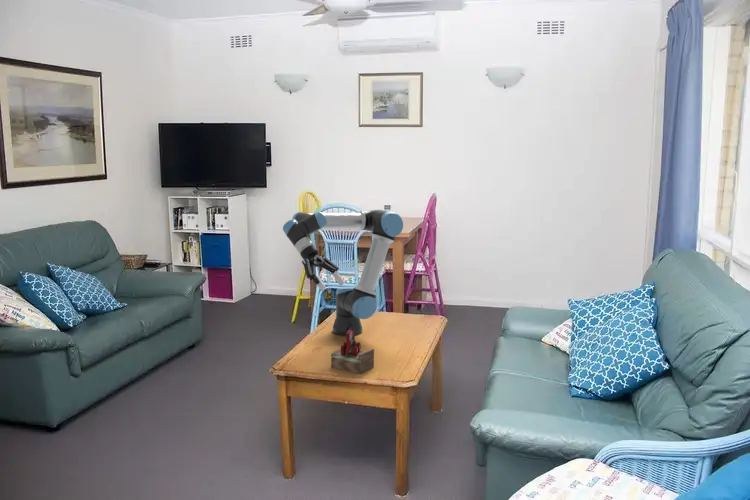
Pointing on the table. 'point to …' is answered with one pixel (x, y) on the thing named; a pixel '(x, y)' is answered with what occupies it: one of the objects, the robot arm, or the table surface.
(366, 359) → the stand
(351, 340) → the toy fire truck
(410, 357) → the table surface
